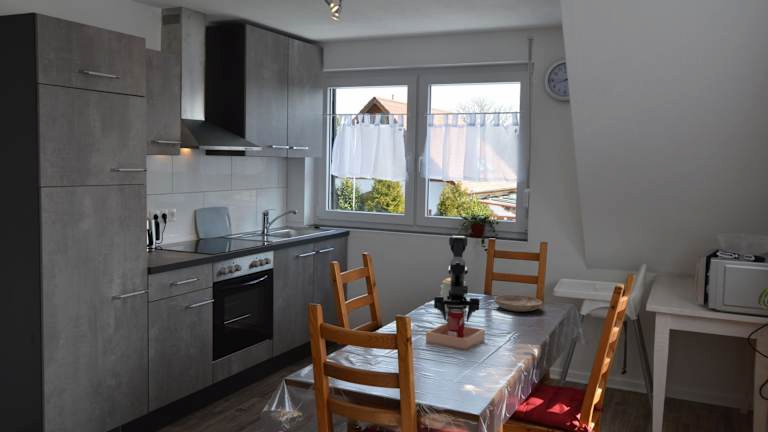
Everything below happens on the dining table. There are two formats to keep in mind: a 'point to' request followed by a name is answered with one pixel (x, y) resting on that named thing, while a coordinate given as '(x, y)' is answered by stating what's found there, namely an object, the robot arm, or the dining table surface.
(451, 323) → the soda can
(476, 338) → the terracotta tray
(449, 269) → the robot arm
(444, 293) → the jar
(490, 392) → the dining table surface
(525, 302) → the ceramic bowl
